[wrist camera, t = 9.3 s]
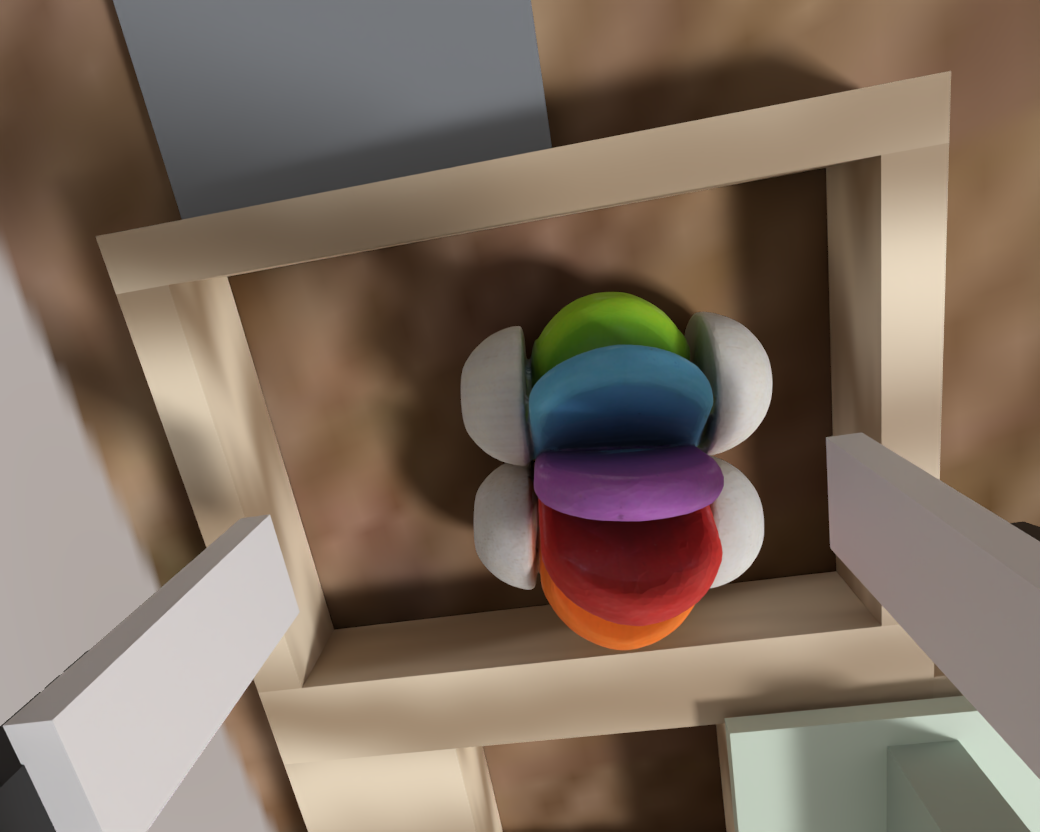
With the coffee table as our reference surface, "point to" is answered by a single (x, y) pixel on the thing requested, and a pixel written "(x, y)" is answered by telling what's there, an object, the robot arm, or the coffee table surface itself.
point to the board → (538, 630)
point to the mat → (330, 91)
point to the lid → (878, 771)
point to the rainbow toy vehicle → (617, 462)
